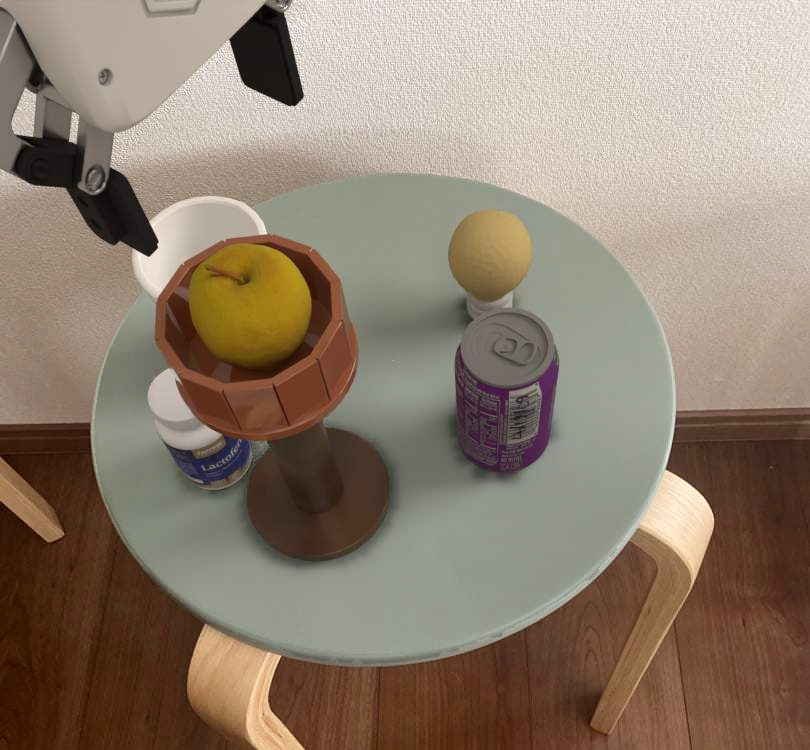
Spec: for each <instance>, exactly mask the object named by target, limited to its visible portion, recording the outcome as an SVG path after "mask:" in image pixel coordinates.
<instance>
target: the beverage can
mask: <svg viewBox="0 0 810 750" xmlns="http://www.w3.org/2000/svg"><path fill="white" fill-rule="evenodd" d="M460 340H461V341H460V342H459V344H458V345H457V346H458V347H457V349H456V351H455V355H454V363H453V364H454V365H453V367H454V384H455V385H454V386H455V404H456V406H455V407H456V409H455V410H456V425H457V429H456V430H457V440H458V443H459V447H460V448H461V450H462V452H463V453H464V454H465V456H466V457H467V458H468V459H469V460H470V461H471V462H472V463H474V464H475V465H477V466H478V467H480V468H482V469H485V470H488V471H491V472H495V473H512V472H516V471H520V470H523V469H525V468H527V467H530V466H531V465H533V464H534V463H535V462H536V461H538V460H539V459H540V458H541V456H543V454H544V452H545V451H546V449H547V448H548V445H549V442H550V438H551V431H552V424H553V423H552V422H553V415H554V408H555V401H556V394H557V386H558V379H559V371H560V355H559V351H558V348H557V346H556V343H555V339H554V334H553V332H552V331H551V328H550V327H549V326H548V324H547V323H546V322H545V321H544V320H543V319H542V318H541V317H539V316H538V315H536V314H535V313H532V312H531V311H529V310H526V309H522V308H518V307H512V308H498V309H493V310H490V311H488V312H485V313H483V314H481V315H480V316H478V317H477V318H475V319H474V320H473V319H472V321H470V323H469V324H468V325H467V327H466V328H465V329H464V331H463V334H462V336H461V339H460Z"/></svg>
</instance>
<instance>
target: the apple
mask: <svg viewBox="0 0 810 750" xmlns="http://www.w3.org/2000/svg"><path fill="white" fill-rule="evenodd" d="M188 297H189V308H190V313H191V318H192V322H193V324H194V327H195V329H196V330H197V332H198V334H199V336H200V337H201V339H202V340H203V342H204V343H205V345H206V346H207V348H208V349H209V350H210V351H211V353H212V354H213V355H214V356H215V357H216V358H217V359H219V360H220V361H222V362H224V363H226V364H228V365H232V366H234V367H236V368H239V369H245V370H257V371H269V370H273V369H276V368H277V367H279V366H280V365H282V364H283V363H284V362H285V361H287V360H288V359H289V358H290V357H291V356H292V355H293V354H294V353H295V352H296V351H297V350H298V348H299V347H300V346H301V344H302V343H303V341H304V339H305V337H306V334H307V331H308V328H309V324H310V320H311V310H312V304H311V296H310V291H309V288H308V286H307V284H306V281H305V279H304V278H303V276H302V274H301V273H300V271H299V269H298V268H297V267H296V266H295V264H294V263H293V262H292V261H291V260H290V259H289V258H288V257H287V256H286V255H284V254H283V253H281V252H280V251H277V250H275V249H273V248H270V247H267V246H262V245H254V244H245V243H241V244H234V245H230V246H227V247H225V248H223V249H221V250H219V251H218V252H216V253H215V254H213V255H212V256H210V257H209V258H207V259H206V260H205V261H203V262H202V263H201V264H200V265H199V266H198V268H197V269H196V270H195V272H194V273H193V275H192V278H191V281H190V286H189V291H188Z"/></svg>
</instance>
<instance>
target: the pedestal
mask: <svg viewBox="0 0 810 750" xmlns="http://www.w3.org/2000/svg"><path fill="white" fill-rule="evenodd" d="M266 443H267V445H268V447H269V448H268V449H267V450H266V451H265V452H264V453H263V455H261V457H260V458H259V460H258V461H257V462H256V464H255V465H254V468H253V469H252V471H251V474H250V478H249V480H248V484H247V489H246V505H247V510H248V514H249V518H250V521H251V523H252V525H253V526H254V528H255V530H256V531H257V533H258V534H259V536H260V537H261V538H262V539H263V541H264V542H265V543H266V544H268V545H269V546H270V547H271V548H272V549H274V550H275V551H276V552H279V553H281V554H282V555H284V556H287V557H290V558H293V559H296V560H301V561H306V562H307V561H308V562H323V561H329V560H334V559H337V558H341V557H343V556H346V555H348V554H350V553H352V552H354V551H356V550H357V549H359V548H360V547H362V546H363V545H364V544H365V543H366V542H368V541H369V540H370V539H371V538H372V537H373V536H374V535H375V533H377V531H378V530H379V528H380V526H381V525H382V523H383V522H384V520H385V517H386V515H387V512H388V510H389V507H390V501H391V483H390V478H389V473H388V470H387V466H386V464H385V462H384V460H383V459H382V457H381V455H380V454H379V452H378V451H377V450H376V449H375V448H374V447H373V446H372V445H371V443H369V442H367V440H365V439H364V438H362V437H360V436H359V435H357V434H355V433H353V432H351V431H347V430H345V429H341V428H335V427H326V426H325V423H324V419H323V420H321V421H320V422H318V423H317V424H316V425H314V426H312V427H310V428H308V429H306V430H305V431H302V432H300V433H297V434H295V435H292V436H288V437H285V438H281V439H275V440H269V441H266Z"/></svg>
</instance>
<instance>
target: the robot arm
mask: <svg viewBox="0 0 810 750" xmlns="http://www.w3.org/2000/svg"><path fill="white" fill-rule="evenodd" d="M292 3H293V0H0V170H1V171H4V172H5V173H8V174H9V175H12V176H15V177H16V178H17V179H20V180H22V181H24V182H26V183H27V184H29V185H32V186H37V187H46V188H47V187H48V188H60V189H62V188H63V189H65V190H66V191H67V193H68V195H69V197H70V198H71V200H72V201H73V204H74V206H75V207H76V208H77V209H78V210H77V211H78V212H79V213H80V215H81V217H82V219H83V220H84V222H85V225H87V226H88V228H89V230H91V231H92V232H93V234H95V235H96V237H98V238H99V239H101V240H102V241H104V242H106V243H107V244H109V245H111V246H116V245H117V244H119V242H121V243H123V244H125V245H126V246H128V247H130V248H131V249H135V250H137V251H138V252H140V253H142V254H144V255H145V256H147V257H150V256H151V255H152V254H153V253H154V252H155V251H156V250H157V249H158V245H157V244H158V243H159V241H158V238H157V236H156V234H155V232H154V230H153V228H152V226H151V224H150V222H149V221H150V220H149V219H148V216H147V215H146V212H145V210H144V208H143V206H142V205H141V202H140V200H139V199H138V196H137V195H136V193H135V190H134V189H133V187H132V185H131V183H130V181H129V180H128V177H126V176H125V175H124V174H123V173H122V172H120V171H118V170H116V169H115V168H113V167H111V164H112V163H111V162H112V155H113V146H114V139H115V134H119V133H123V132H125V131H128V130H131V129H132V128H134V127H136V126H137V125H139V124H141V123H142V122H144V121H145V120H146V119H147V118H148V117H150V115H152V114H153V113H154V112H155V111H157V109H158V108H159V107H161V106H162V105H163V104H164V103H165V102H166V101H167V100H168V99H169V98H170V97H171V96H172V95H173V94H174V93H175V92H176V91H177V90H178V89H179V88H180V87H181V86H182V85H184V84H185V82H187V81H188V80H189V79H191V77H192V76H193V75H195V73H196V72H197V71H198V70H199V69H200V68H202V66H204V65H205V64H206V62H207V61H208V60H210V59H211V58H212V57H213V56H214V55H215V54H216V53H217V52H218V51H219V50H220V49H221V48H222V47H224V45H225V44H226V43H227V42H228V41H229V44H230V47H231V50H232V54H233V57H234V61H235V63H236V68H237V71H238V74H239V77H240V80H241V82H242V83H243V85H244V86H245V87H247V88H248V89H251V90H252V91H255V92H256V93H259V94H261V95H264V96H265V97H268V98H270V99H272V100H275V101H276V102H279V103H280V104H282V105H284V106H287V107H296V106H297V105H298V104H299V103H300V102H301V101H302V100H303V99H304V98H305V93H304V90H303V86H302V81H301V77H300V73H299V67H298V65H297V59H296V56H295V51H294V47H293V43H292V39H291V34H290V30H289V26H288V21H287V18H286V14H285V13H286V12H287V11H288V10H289V8H290V7H291V5H292ZM25 89H26V90H28V91H29V92H30V93H31V94H34V95H36V96H35V106H34V118H33V119H34V120H33V133H32V136H30V135H23V134H15V132H14V130H13V124H12V122H13V118H14V116H15V113H16V110H17V108H18V106H19V103H20V101H21V98H22V96H23V93H24V91H25ZM73 113H74V114H76V115H77V116H78V124H77V132H76V133H77V135H76V142H73V141H70V138H71V126H72V116H73Z"/></svg>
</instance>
